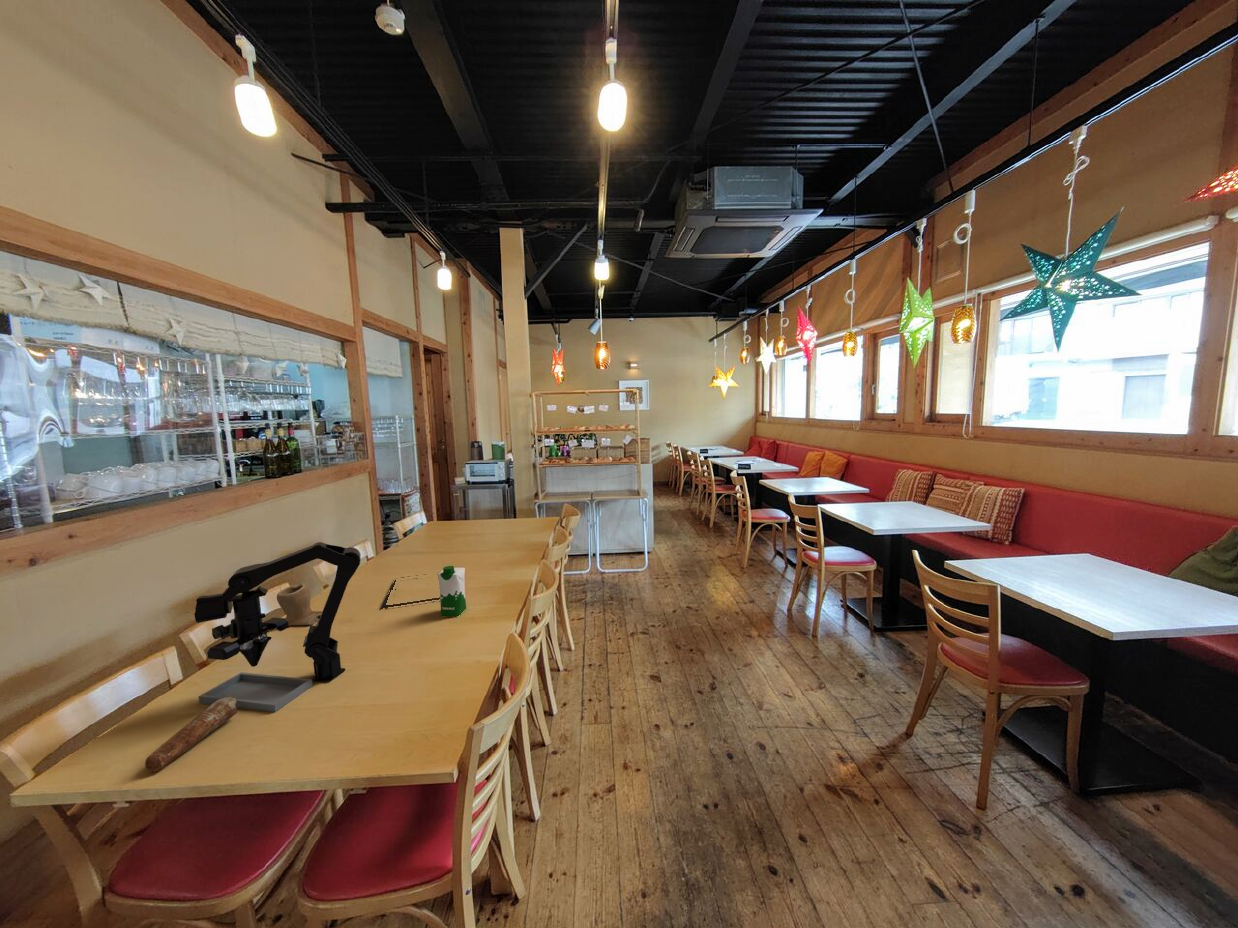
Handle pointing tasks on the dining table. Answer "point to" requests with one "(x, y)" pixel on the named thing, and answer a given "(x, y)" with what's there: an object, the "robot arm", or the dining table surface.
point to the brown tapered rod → (192, 733)
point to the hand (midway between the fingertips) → (254, 665)
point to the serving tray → (258, 691)
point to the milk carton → (452, 591)
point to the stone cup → (298, 605)
